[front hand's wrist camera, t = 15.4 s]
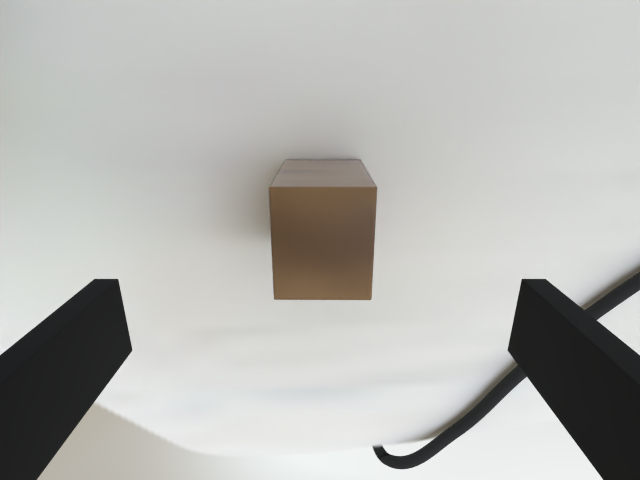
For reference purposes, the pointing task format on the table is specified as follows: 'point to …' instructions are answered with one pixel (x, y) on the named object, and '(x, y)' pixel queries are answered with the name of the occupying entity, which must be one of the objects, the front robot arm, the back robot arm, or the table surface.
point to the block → (322, 230)
